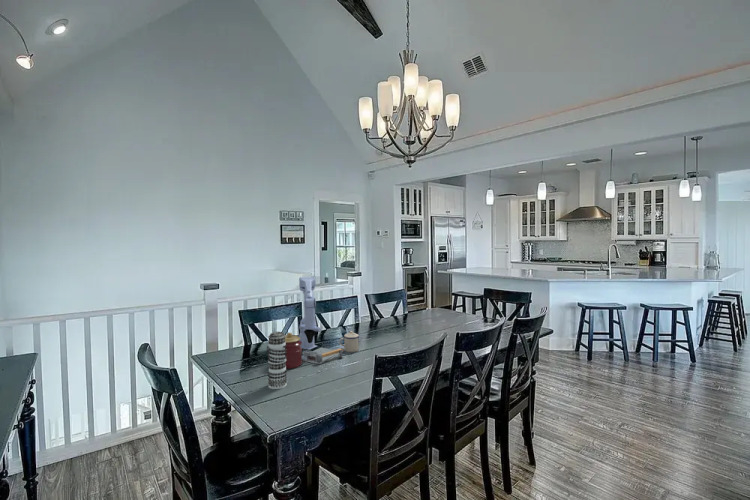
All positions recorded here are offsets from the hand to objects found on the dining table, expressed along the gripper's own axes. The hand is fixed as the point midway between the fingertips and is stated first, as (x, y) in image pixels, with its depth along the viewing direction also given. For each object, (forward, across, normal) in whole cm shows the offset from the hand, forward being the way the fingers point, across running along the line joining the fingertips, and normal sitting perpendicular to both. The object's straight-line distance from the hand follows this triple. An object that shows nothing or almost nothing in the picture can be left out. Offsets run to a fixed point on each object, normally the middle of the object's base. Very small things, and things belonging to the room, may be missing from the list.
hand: (310, 342), depth 220 cm
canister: (+9, -2, -16) cm, 18 cm away
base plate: (+8, +7, +4) cm, 11 cm away
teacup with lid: (+9, +12, +22) cm, 26 cm away
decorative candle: (+9, +12, -40) cm, 42 cm away
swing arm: (+7, +14, +2) cm, 15 cm away
